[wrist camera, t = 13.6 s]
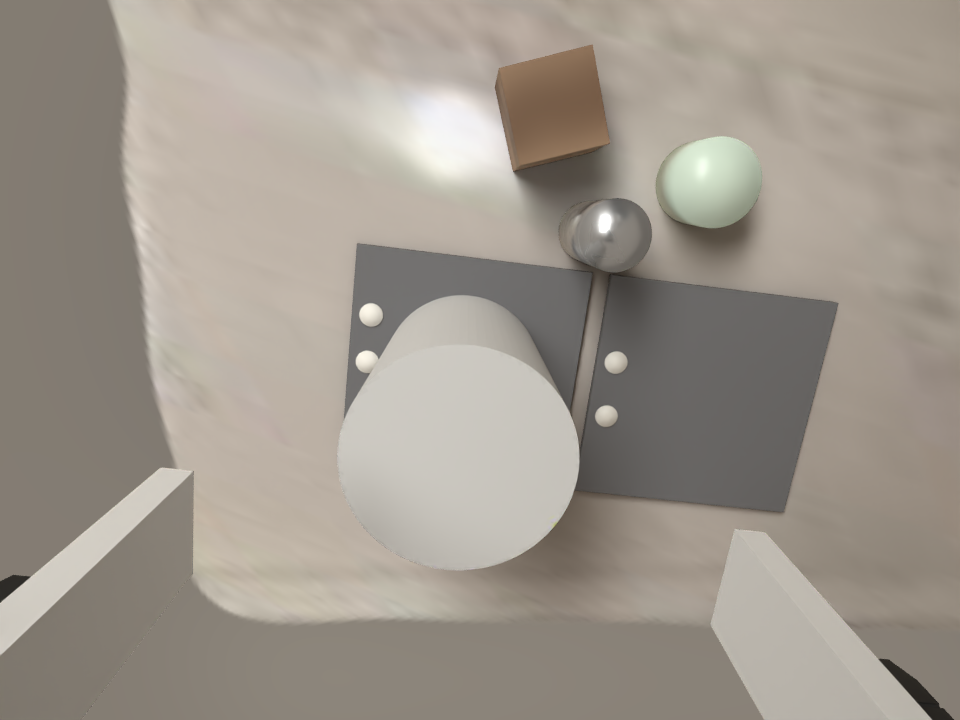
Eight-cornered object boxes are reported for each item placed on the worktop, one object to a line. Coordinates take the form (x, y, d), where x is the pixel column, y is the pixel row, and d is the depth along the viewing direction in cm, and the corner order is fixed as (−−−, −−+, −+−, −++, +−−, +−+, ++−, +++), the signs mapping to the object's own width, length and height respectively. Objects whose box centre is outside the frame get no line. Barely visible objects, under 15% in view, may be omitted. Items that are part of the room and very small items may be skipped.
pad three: (358, 243, 31) (356, 244, 30) (591, 272, 31) (593, 273, 31) (341, 462, 34) (340, 466, 33) (556, 485, 34) (557, 489, 34)
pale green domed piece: (642, 208, 31) (658, 210, 28) (676, 129, 30) (696, 123, 27) (714, 235, 31) (737, 240, 28) (750, 157, 30) (777, 154, 27)
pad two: (610, 274, 31) (612, 275, 31) (833, 301, 32) (839, 303, 32) (573, 487, 34) (574, 490, 34) (779, 508, 35) (784, 513, 34)
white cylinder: (407, 458, 33) (374, 592, 22) (366, 315, 31) (306, 377, 20) (553, 425, 33) (599, 541, 21) (520, 278, 31) (552, 318, 19)
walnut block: (494, 87, 29) (499, 68, 25) (575, 66, 29) (592, 44, 25) (512, 171, 30) (519, 165, 26) (591, 152, 30) (610, 142, 26)
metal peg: (563, 197, 30) (585, 193, 25) (621, 205, 31) (658, 203, 25) (554, 257, 31) (574, 267, 25) (611, 264, 31) (644, 276, 26)
